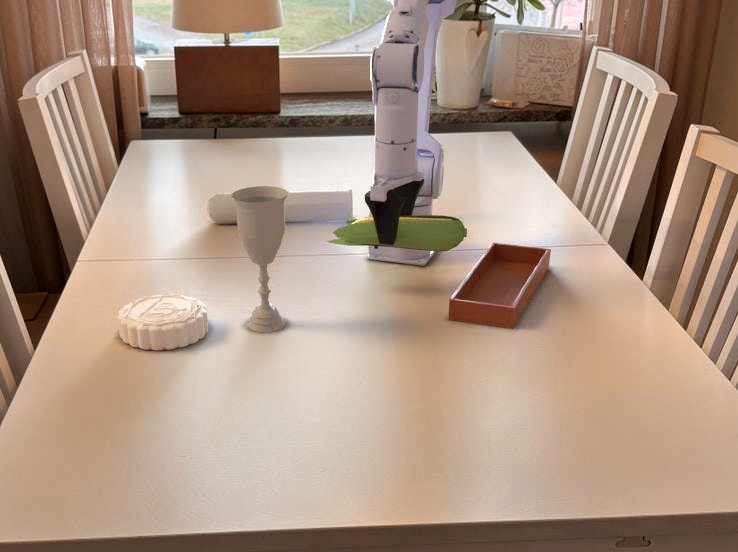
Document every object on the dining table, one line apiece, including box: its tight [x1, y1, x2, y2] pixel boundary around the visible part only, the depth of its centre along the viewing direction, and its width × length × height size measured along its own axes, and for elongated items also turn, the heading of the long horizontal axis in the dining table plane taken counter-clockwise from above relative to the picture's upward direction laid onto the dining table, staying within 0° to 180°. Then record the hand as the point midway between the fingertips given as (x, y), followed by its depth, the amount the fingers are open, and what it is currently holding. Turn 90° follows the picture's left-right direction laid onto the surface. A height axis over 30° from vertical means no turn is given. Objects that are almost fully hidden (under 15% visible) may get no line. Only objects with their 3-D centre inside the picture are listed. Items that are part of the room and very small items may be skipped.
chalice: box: [231, 185, 288, 333], centre depth 137 cm, size 7×7×18 cm
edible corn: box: [325, 214, 468, 252], centre depth 146 cm, size 5×20×5 cm, turn 82°
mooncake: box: [117, 293, 209, 351], centre depth 139 cm, size 12×12×4 cm
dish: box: [447, 242, 552, 329], centre depth 149 cm, size 9×24×3 cm, turn 158°
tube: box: [206, 187, 354, 225], centre depth 177 cm, size 5×5×25 cm
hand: (393, 236), depth 147 cm, fingers closed on edible corn, 5 cm apart
